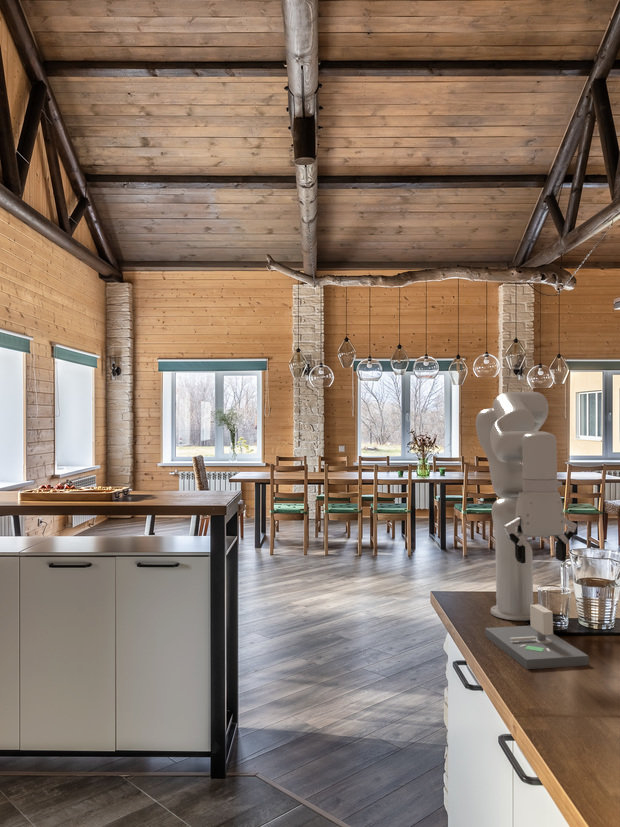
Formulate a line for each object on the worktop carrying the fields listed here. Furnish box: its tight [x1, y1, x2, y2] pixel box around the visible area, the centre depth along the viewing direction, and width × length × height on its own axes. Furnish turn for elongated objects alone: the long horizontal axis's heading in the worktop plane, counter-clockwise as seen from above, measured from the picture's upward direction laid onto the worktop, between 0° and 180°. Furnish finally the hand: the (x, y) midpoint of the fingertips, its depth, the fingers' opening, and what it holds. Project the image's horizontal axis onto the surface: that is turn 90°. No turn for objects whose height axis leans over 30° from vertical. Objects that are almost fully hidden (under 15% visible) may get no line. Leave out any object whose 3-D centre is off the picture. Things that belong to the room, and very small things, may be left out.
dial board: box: [484, 625, 590, 670], centre depth 153 cm, size 22×14×2 cm, turn 8°
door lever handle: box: [510, 603, 554, 641], centre depth 153 cm, size 6×9×7 cm
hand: (540, 561), depth 153 cm, fingers open, 9 cm apart
